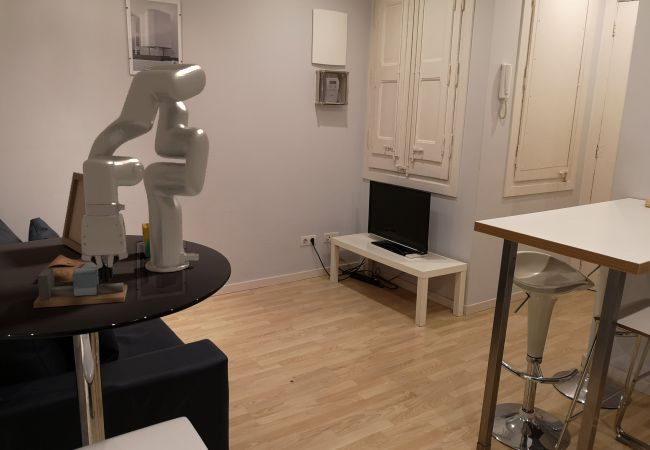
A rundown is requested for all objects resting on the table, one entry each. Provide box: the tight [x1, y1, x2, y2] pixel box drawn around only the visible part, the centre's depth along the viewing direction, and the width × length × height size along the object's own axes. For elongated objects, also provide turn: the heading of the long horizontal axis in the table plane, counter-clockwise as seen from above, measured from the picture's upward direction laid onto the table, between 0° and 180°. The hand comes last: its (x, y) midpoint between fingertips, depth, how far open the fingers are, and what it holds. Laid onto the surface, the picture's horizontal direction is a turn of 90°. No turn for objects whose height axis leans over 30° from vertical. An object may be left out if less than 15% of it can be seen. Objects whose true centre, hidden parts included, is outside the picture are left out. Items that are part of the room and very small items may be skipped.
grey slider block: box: [72, 266, 100, 296], centre depth 131 cm, size 5×5×6 cm
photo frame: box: [60, 171, 86, 255], centre depth 177 cm, size 15×22×25 cm
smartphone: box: [98, 265, 136, 278], centre depth 153 cm, size 7×1×15 cm
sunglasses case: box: [46, 254, 86, 283], centre depth 152 cm, size 18×7×7 cm
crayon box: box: [141, 222, 151, 258], centre depth 172 cm, size 7×3×12 cm, turn 24°
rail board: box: [33, 282, 128, 309], centre depth 132 cm, size 20×10×3 cm, turn 106°
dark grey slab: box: [37, 267, 56, 301], centre depth 129 cm, size 2×7×6 cm, turn 16°
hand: (106, 281), depth 133 cm, fingers closed
